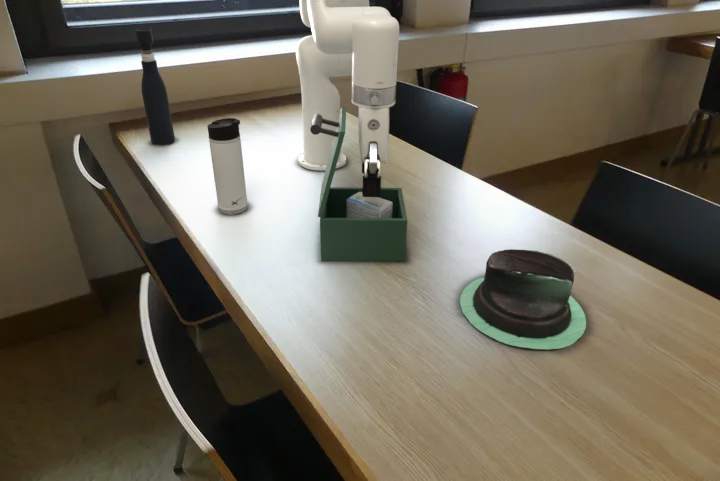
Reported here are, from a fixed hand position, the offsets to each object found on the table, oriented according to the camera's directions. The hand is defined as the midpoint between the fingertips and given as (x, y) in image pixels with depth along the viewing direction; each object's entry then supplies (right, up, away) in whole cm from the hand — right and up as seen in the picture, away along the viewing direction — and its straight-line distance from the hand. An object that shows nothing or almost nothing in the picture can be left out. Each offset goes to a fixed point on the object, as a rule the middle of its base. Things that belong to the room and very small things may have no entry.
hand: (370, 184), depth 100 cm
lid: (-7, +4, -3) cm, 8 cm away
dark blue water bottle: (-58, +18, +52) cm, 80 cm away
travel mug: (-30, -4, +17) cm, 34 cm away
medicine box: (0, -10, +5) cm, 12 cm away
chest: (-1, -11, +5) cm, 12 cm away
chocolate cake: (+25, -22, -12) cm, 35 cm away
